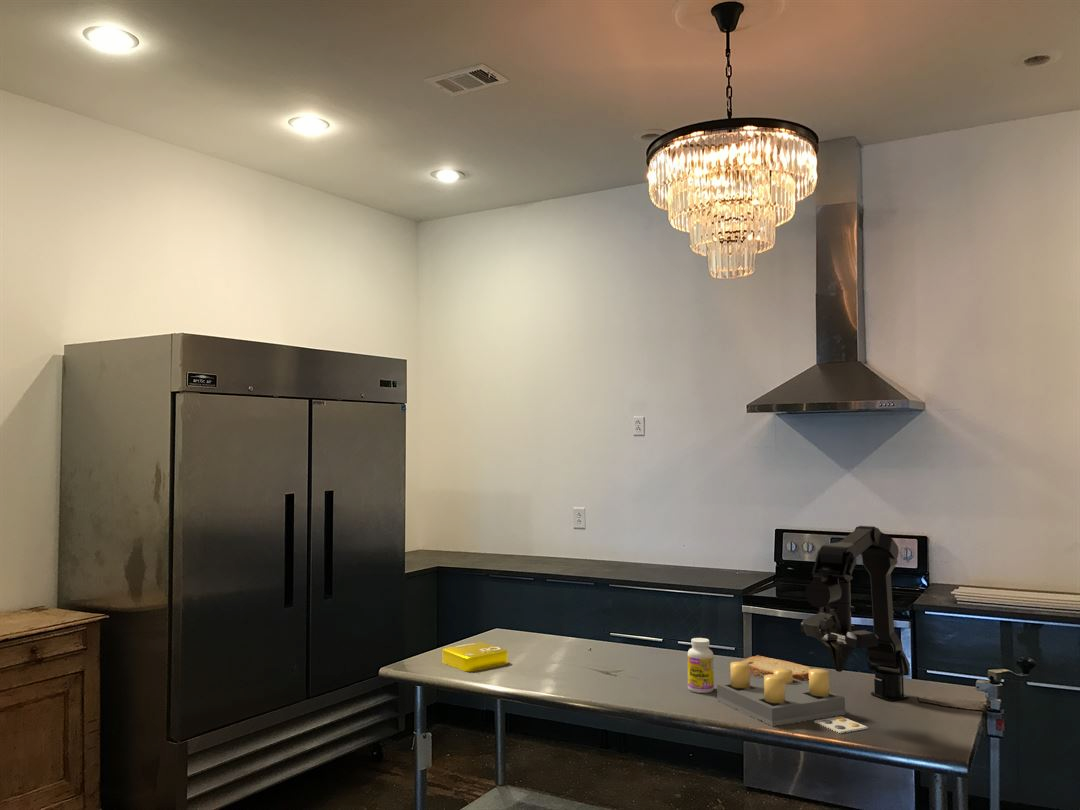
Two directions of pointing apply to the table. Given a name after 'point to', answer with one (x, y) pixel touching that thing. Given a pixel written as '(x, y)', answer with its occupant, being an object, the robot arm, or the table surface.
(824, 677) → the button
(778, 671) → the button
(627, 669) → the table surface
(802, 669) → the slice of bread
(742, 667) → the button
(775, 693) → the button
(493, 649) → the element tile
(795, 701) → the grey flat square block
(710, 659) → the supplement bottle
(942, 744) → the table surface
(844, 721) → the card
